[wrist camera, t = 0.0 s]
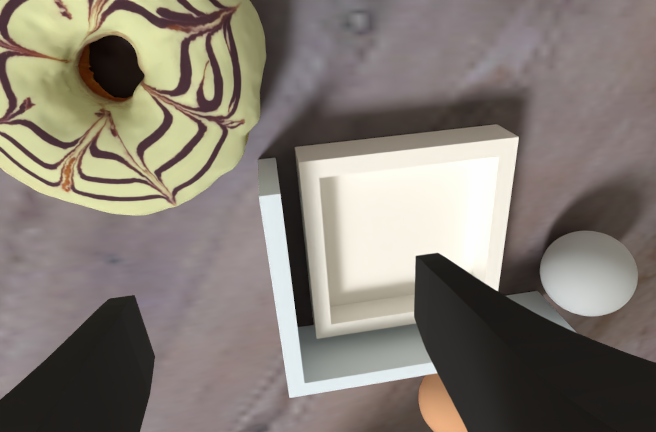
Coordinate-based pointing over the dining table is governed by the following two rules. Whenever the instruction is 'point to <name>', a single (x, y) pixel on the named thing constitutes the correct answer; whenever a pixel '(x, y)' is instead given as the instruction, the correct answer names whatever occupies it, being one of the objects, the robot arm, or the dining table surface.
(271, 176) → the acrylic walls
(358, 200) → the ceramic dish
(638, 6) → the dining table surface
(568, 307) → the grey ball
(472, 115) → the dining table surface
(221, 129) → the decorated donut
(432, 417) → the terracotta ball
